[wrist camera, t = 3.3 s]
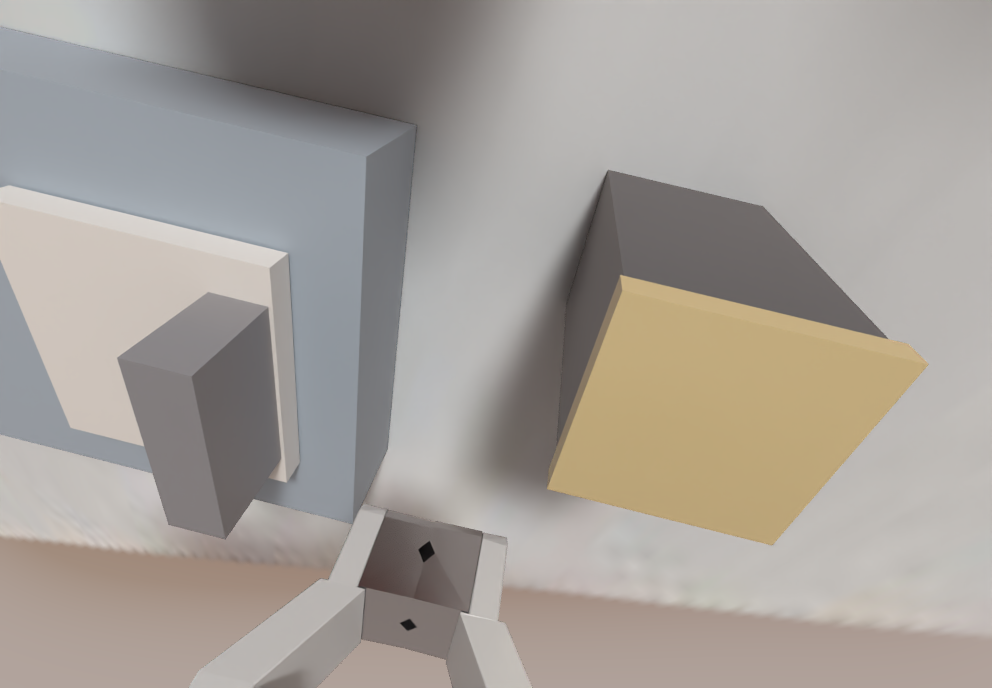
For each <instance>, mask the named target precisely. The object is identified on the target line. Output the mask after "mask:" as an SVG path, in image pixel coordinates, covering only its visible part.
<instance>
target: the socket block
mask: <svg viewBox="0 0 992 688" xmlns="http://www.w3.org/2000/svg"><path fill="white" fill-rule="evenodd" d="M416 129H417V125H414V124H410V123H405V122H401V121H397V120H393V119H388V118H384V117H380V116H376V115H371V114H367V113H363V112H359V111H354V110H350V109H346V108H342V107H338V106H333V105H329V104H325V103H321V102H316V101H312V100H308V99H304V98H299V97H295V96H291V95H287V94H283V93H278V92H274V91H270V90H266V89H261V88H257V87H253V86H249V85H244V84H240V83H236V82H232V81H227V80H223V79H219V78H215V77H211V76H206V75H202V74H198V73H194V72H189V71H185V70H181V69H177V68H172V67H168V66H164V65H160V64H156V63H151V62H147V61H143V60H139V59H134V58H130V57H126V56H122V55H117V54H113V53H109V52H105V51H100V50H96V49H92V48H88V47H84V46H79V45H75V44H71V43H67V42H62V41H58V40H54V39H50V38H45V37H41V36H37V35H33V34H29V33H24V32H20V31H16V30H12V29H7V28H3V27H0V188H1V187H5V186H8V185H11V186H15V187H19V188H23V189H27V190H31V191H35V192H39V193H43V194H48V195H52V196H56V197H60V198H64V199H68V200H72V201H76V202H80V203H85V204H89V205H93V206H97V207H101V208H105V209H109V210H113V211H117V212H122V213H126V214H130V215H134V216H138V217H142V218H146V219H150V220H154V221H159V222H163V223H167V224H171V225H175V226H179V227H183V228H187V229H191V230H196V231H200V232H204V233H208V234H212V235H216V236H220V237H224V238H228V239H233V240H237V241H241V242H245V243H249V244H253V245H257V246H261V247H266V248H270V249H274V250H278V251H282V252H286V253H288V256H289V274H290V292H291V310H292V328H293V346H294V364H295V382H296V400H297V418H298V436H299V454H300V463H299V465H298V466H297V468H296V469H295V471H294V472H293V474H292V475H291V477H290V478H289V480H288V482H287V483H286V482H282V481H278V480H274V479H271V478H268V479H267V480H266V482H265V483H264V484H263V486H262V487H261V489H260V490H259V492H258V493H257V495H256V496H255V497H254V499H256V500H260V501H264V502H268V503H272V504H276V505H280V506H284V507H288V508H291V509H295V510H299V511H303V512H307V513H311V514H315V515H319V516H323V517H327V518H331V519H335V520H339V521H343V522H347V523H350V524H353V522H354V520H355V518H356V515H357V513H358V511H359V509H360V507H361V505H362V503H363V501H364V498H365V496H366V494H367V492H368V490H369V488H370V486H371V483H372V481H373V479H374V477H375V475H376V473H377V470H378V468H379V466H380V464H381V462H382V460H383V457H384V455H385V453H386V451H387V449H388V438H389V427H390V416H391V405H392V394H393V383H394V372H395V361H396V350H397V339H398V328H399V317H400V306H401V295H402V284H403V272H404V261H405V250H406V239H407V228H408V217H409V206H410V195H411V184H412V173H413V162H414V151H415V140H416ZM0 434H1V435H5V436H8V437H12V438H16V439H20V440H24V441H28V442H32V443H36V444H40V445H44V446H48V447H52V448H56V449H60V450H64V451H67V452H71V453H75V454H79V455H83V456H87V457H91V458H95V459H99V460H103V461H107V462H111V463H115V464H119V465H122V466H126V467H130V468H134V469H138V470H142V471H146V472H150V473H152V469H151V466H150V463H149V460H148V456H147V453H146V450H145V447H144V446H140V445H136V444H132V443H128V442H124V441H121V440H117V439H113V438H109V437H105V436H101V435H97V434H93V433H89V432H85V431H81V430H77V429H73V428H70V425H69V423H68V421H67V418H66V416H65V413H64V411H63V409H62V406H61V404H60V401H59V399H58V397H57V394H56V392H55V389H54V387H53V385H52V382H51V380H50V378H49V375H48V373H47V370H46V368H45V366H44V363H43V361H42V358H41V356H40V354H39V351H38V349H37V347H36V344H35V342H34V339H33V337H32V335H31V332H30V330H29V327H28V325H27V323H26V320H25V318H24V315H23V313H22V311H21V308H20V306H19V304H18V301H17V299H16V296H15V294H14V292H13V289H12V287H11V284H10V282H9V280H8V277H7V275H6V272H5V270H4V268H3V265H2V263H1V261H0Z"/></svg>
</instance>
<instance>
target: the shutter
mask: <svg viewBox="0 0 992 688" xmlns="http://www.w3.org/2000/svg"><path fill="white" fill-rule="evenodd" d="M0 261H1V263H2V265H3V268H4V270H5V272H6V275H7V277H8V280H9V282H10V284H11V287H12V289H13V292H14V294H15V296H16V299H17V301H18V304H19V306H20V308H21V311H22V313H23V315H24V318H25V320H26V323H27V325H28V327H29V330H30V332H31V335H32V337H33V339H34V342H35V344H36V347H37V349H38V351H39V354H40V356H41V358H42V361H43V363H44V366H45V368H46V370H47V373H48V375H49V378H50V380H51V382H52V385H53V387H54V389H55V392H56V394H57V397H58V399H59V401H60V404H61V406H62V409H63V411H64V413H65V416H66V418H67V421H68V423H69V425H70V428H73V429H77V430H81V431H85V432H89V433H93V434H97V435H101V436H105V437H109V438H113V439H117V440H121V441H124V442H128V443H132V444H136V445H140V446H144V447H145V450H146V453H147V456H148V460H149V463H150V466H151V469H152V473H153V476H154V479H155V482H156V485H157V489H158V492H159V495H160V498H161V502H162V505H163V508H164V511H165V514H166V518H167V521H168V524H169V525H172V526H176V527H180V528H183V529H187V530H191V531H195V532H199V533H203V534H207V535H211V536H215V537H218V538H222V539H226V538H227V536H228V535H229V533H230V532H231V531H232V529H233V528H234V526H235V525H236V523H237V522H238V520H239V519H240V518H241V516H242V515H243V513H244V512H245V510H246V509H247V508H248V506H249V505H250V503H251V502H252V500H253V499H254V497H255V496H256V495H257V493H258V492H259V490H260V489H261V487H262V486H263V484H264V483H265V482H266V480H267V479H268V478H271V479H274V480H278V481H282V482H286V483H287V482H288V480H289V478H290V477H291V475H292V474H293V472H294V471H295V469H296V468H297V466H298V465H299V463H300V454H299V436H298V418H297V400H296V382H295V364H294V346H293V328H292V310H291V292H290V274H289V256H288V253H286V252H282V251H278V250H274V249H270V248H266V247H261V246H257V245H253V244H249V243H245V242H241V241H237V240H233V239H228V238H224V237H220V236H216V235H212V234H208V233H204V232H200V231H196V230H191V229H187V228H183V227H179V226H175V225H171V224H167V223H163V222H159V221H154V220H150V219H146V218H142V217H138V216H134V215H130V214H126V213H122V212H117V211H113V210H109V209H105V208H101V207H97V206H93V205H89V204H85V203H80V202H76V201H72V200H68V199H64V198H60V197H56V196H52V195H48V194H43V193H39V192H35V191H31V190H27V189H23V188H19V187H15V186H11V185H8V186H5V187H1V188H0Z"/></svg>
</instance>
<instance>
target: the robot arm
mask: <svg viewBox="0 0 992 688" xmlns="http://www.w3.org/2000/svg"><path fill="white" fill-rule="evenodd" d="M507 547H508V541H507V538H506V537H502V536H497V535H492V534H488V533H482V531H479V530H474V529H469V528H465V527H460V526H456V525H451V524H447V523H442V522H438V521H431V520H427V519H423V518H419V517H415V516H411V515H407V514H403V513H399V512H395V511H391V510H388V509H385V508H380V507H376V506H372V505H368V504H363V505H362V507H361V508H360V510H359V511H358V513H357V515H356V518H355V520H354V522H353V524H352V527H351V529H350V531H349V533H348V536H347V538H346V540H345V542H344V545H343V547H342V549H341V551H340V554H339V556H338V558H337V560H336V563H335V565H334V567H333V569H332V572H331V574H330V576H329V578H328V580H327V579H322V578H320V579H319V580H317V581H316V582H315V583H313V584H312V585H311V586H310V587H308V588H307V589H305V590H304V591H303V592H302V593H300V594H299V595H298V596H296V597H295V598H294V599H292V600H291V601H290V602H288V603H287V604H286V605H284V606H283V607H282V608H280V609H279V610H278V611H277V612H275V613H274V614H273V615H271V616H270V617H269V618H267V619H266V620H265V621H263V622H262V623H261V624H259V625H258V626H257V627H255V628H254V629H253V630H252V631H250V632H249V633H248V634H246V635H245V636H244V637H242V638H241V639H240V640H239V641H237V642H236V643H234V644H233V645H232V646H230V647H229V648H228V649H227V650H225V651H224V652H223V653H221V654H220V655H219V656H217V657H216V658H215V659H213V660H212V661H211V662H209V663H208V664H207V665H205V667H203V668H202V669H200V670H199V671H198V672H197V674H196V676H195V677H194V679H193V681H192V682H191V684H190V686H189V688H317V687H318V686H319V684H321V682H322V681H323V680H324V679H325V678H326V677H327V676H328V675H329V674H330V673H331V672H332V671H333V670H334V669H335V668H336V667H337V666H338V665H339V664H340V663H341V662H342V661H343V660H344V659H345V658H346V657H347V656H348V655H349V654H350V653H351V652H352V651H353V650H354V649H355V648H356V647H357V646H358V645H359V644H360V642H361V639H364V640H368V641H373V642H377V643H382V644H387V645H392V646H396V647H401V648H404V647H405V648H406V649H409V650H413V651H417V652H420V653H424V654H428V655H431V656H435V657H439V658H442V659H446V665H447V668H448V672H449V676H450V679H451V684H452V687H453V688H533V687H532V685H531V683H530V680H529V678H528V675H527V673H526V671H525V668H524V666H523V663H522V661H521V659H520V656H519V654H518V651H517V649H516V647H515V644H514V642H513V639H512V637H511V634H510V632H509V630H508V627H507V625H506V623H504V622H501V621H498V618H499V610H500V602H501V595H502V587H503V579H504V571H505V563H506V555H507Z"/></svg>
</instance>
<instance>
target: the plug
mask: <svg viewBox="0 0 992 688" xmlns="http://www.w3.org/2000/svg"><path fill="white" fill-rule="evenodd" d="M928 365H929V364H928V363H927V362H926V361H925V360H924V359H923V358H922V357H921V356H920V355H919V354H918V353H917V352H916V351H915V350H914V349H913V348H912V347H911V346H910V345H909V344H906V343H902V342H898V341H894V340H889V339H888V338H887V337H886V336H885V335H884V334H883V333H882V332H881V331H880V329H879V328H878V327H877V326H876V325H875V324H874V323H873V322H872V321H871V320H870V319H869V318H868V317H867V316H866V315H865V314H864V313H863V312H862V310H861V309H860V308H859V307H858V306H857V305H856V304H855V303H854V302H853V301H852V300H851V299H850V298H849V297H848V296H847V295H846V294H845V293H844V291H843V290H842V289H841V288H840V287H839V286H838V285H837V284H836V283H835V282H834V281H833V280H832V279H831V278H830V277H829V276H828V275H827V274H826V272H825V271H824V270H823V269H822V268H821V267H820V266H819V265H818V264H817V263H816V262H815V261H814V260H813V259H812V258H811V257H810V256H809V255H808V253H807V252H806V251H805V250H804V249H803V248H802V247H801V246H800V245H799V244H798V243H797V242H796V241H795V240H794V239H793V238H792V237H791V236H790V234H789V233H788V232H787V231H786V230H785V229H784V228H783V227H782V226H781V225H780V224H779V223H778V222H777V221H776V220H775V219H774V218H773V217H772V215H771V214H770V213H769V212H768V211H767V210H766V209H765V208H764V207H763V206H759V205H754V204H750V203H746V202H742V201H738V200H733V199H729V198H725V197H721V196H716V195H712V194H708V193H704V192H699V191H695V190H691V189H687V188H682V187H678V186H674V185H670V184H666V183H661V182H657V181H653V180H649V179H644V178H640V177H636V176H632V175H627V174H623V173H619V172H615V171H610V170H608V172H607V175H606V178H605V181H604V185H603V188H602V191H601V194H600V198H599V201H598V204H597V207H596V210H595V214H594V217H593V220H592V223H591V226H590V230H589V233H588V236H587V239H586V242H585V246H584V249H583V252H582V255H581V259H580V262H579V265H578V268H577V271H576V275H575V278H574V281H573V284H572V287H571V291H570V294H569V297H568V300H567V304H566V316H565V330H564V345H563V359H562V374H561V389H560V403H559V418H558V432H557V447H556V450H555V453H554V456H553V458H552V461H551V464H550V467H549V472H548V484H547V489H549V490H553V491H557V492H561V493H565V494H569V495H573V496H577V497H581V498H585V499H589V500H593V501H597V502H601V503H605V504H609V505H613V506H617V507H621V508H625V509H629V510H633V511H637V512H641V513H645V514H649V515H653V516H657V517H661V518H665V519H669V520H673V521H677V522H681V523H685V524H689V525H693V526H697V527H701V528H705V529H709V530H713V531H717V532H721V533H725V534H729V535H733V536H737V537H741V538H745V539H749V540H753V541H757V542H761V543H765V544H769V545H773V544H774V543H775V542H776V540H777V539H778V538H779V537H780V536H781V535H782V533H783V532H784V531H785V530H786V529H787V528H788V527H789V525H790V524H791V523H792V522H793V521H794V520H795V518H796V517H797V516H798V515H799V514H800V513H801V511H802V510H803V509H804V508H805V507H806V506H807V505H808V503H809V502H810V501H811V500H812V499H813V498H814V496H815V495H816V494H817V493H818V492H819V491H820V489H821V488H822V487H823V486H824V485H825V484H826V483H827V481H828V480H829V479H830V478H831V477H832V476H833V474H834V473H835V472H836V471H837V470H838V469H839V468H840V466H841V465H842V464H843V463H844V462H845V461H846V459H847V458H848V457H849V456H850V455H851V454H852V452H853V451H854V450H855V449H856V448H857V447H858V446H859V444H860V443H861V442H862V441H863V440H864V439H865V437H866V436H867V435H868V434H869V433H870V432H871V431H872V429H873V428H874V427H875V426H876V425H877V424H878V422H879V421H880V420H881V419H882V418H883V417H884V415H885V414H886V413H887V412H888V411H889V410H890V409H891V407H892V406H893V405H894V404H895V403H896V402H897V400H898V399H899V398H900V397H901V396H902V395H903V394H904V392H905V391H906V390H907V389H908V388H909V387H910V385H911V384H912V383H913V382H914V381H915V380H916V378H917V377H918V376H919V375H920V374H921V373H922V372H923V370H924V369H925V368H926V367H927V366H928Z"/></svg>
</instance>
